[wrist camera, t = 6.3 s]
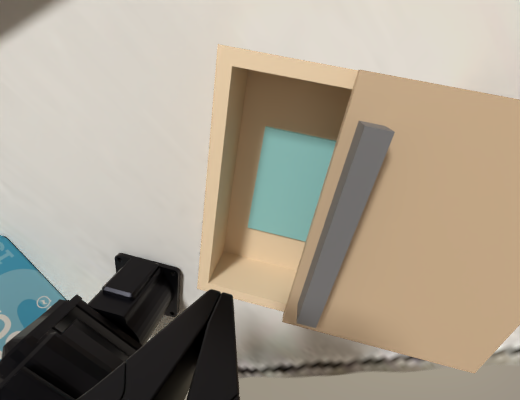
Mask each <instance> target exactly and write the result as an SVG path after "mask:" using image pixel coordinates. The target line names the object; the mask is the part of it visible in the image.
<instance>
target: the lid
mask: <svg viewBox="0 0 520 400" xmlns="http://www.w3.org/2000/svg"><path fill="white" fill-rule="evenodd" d="M282 322H285V323H288V324H292V325H296V326H299V327H303V328H307V329H311V330H314V331H318V332H322V333H326V334H329V335H333V336H337V337H340V338H344V339H348V340H352V341H355V342H359V343H363V344H367V345H370V346H374V347H378V348H381V349H385V350H389V351H393V352H396V353H400V354H404V355H408V356H411V357H415V358H419V359H422V360H426V361H430V362H434V363H437V364H441V365H445V366H449V367H452V368H456V369H460V370H464V371H467V372H471V373H475V372H476V371H477V370H478V369H479V368H480V367H481V366H482V365H483V364H484V363H485V362H486V361H487V359H488V358H489V357H490V356H491V355H492V354H493V353H494V352H495V351H496V350H497V349H498V348H499V347H500V345H501V344H502V343H503V342H504V341H505V340H506V339H507V338H508V337H509V336H510V335H511V334H512V332H513V331H514V330H515V329H516V328H517V327H518V326H519V325H520V100H519V99H513V98H508V97H503V96H497V95H492V94H487V93H481V92H476V91H471V90H465V89H460V88H455V87H449V86H444V85H439V84H433V83H428V82H423V81H417V80H412V79H407V78H401V77H396V76H391V75H385V74H380V73H375V72H369V71H364V70H358V73H357V76H356V79H355V82H354V86H353V89H352V92H351V95H350V99H349V102H348V105H347V108H346V112H345V115H344V118H343V122H342V125H341V128H340V131H339V135H338V138H337V141H336V144H335V148H334V151H333V154H332V157H331V161H330V164H329V167H328V170H327V174H326V177H325V180H324V183H323V187H322V190H321V193H320V196H319V200H318V203H317V206H316V209H315V213H314V216H313V219H312V223H311V226H310V229H309V232H308V236H307V239H306V242H305V245H304V249H303V252H302V255H301V258H300V262H299V265H298V268H297V271H296V275H295V278H294V281H293V284H292V288H291V291H290V294H289V297H288V301H287V304H286V307H285V310H284V314H283V321H282Z"/></svg>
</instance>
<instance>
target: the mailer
mask: <svg viewBox="0 0 520 400" xmlns="http://www.w3.org/2000/svg"><path fill="white" fill-rule="evenodd" d="M357 73H358V71H357V70H352V69H347V68H341V67H336V66H331V65H325V64H320V63H315V62H310V61H304V60H299V59H294V58H288V57H283V56H278V55H272V54H267V53H262V52H256V51H251V50H246V49H240V48H235V47H230V46H224V45H219V44H218V49H217V60H216V72H215V84H214V96H213V108H212V119H211V131H210V143H209V155H208V167H207V179H206V190H205V202H204V214H203V226H202V238H201V249H200V261H199V273H198V285H197V289H200V290H204V291H208V290H210V289H213V290H217V291H220V292H221V293H222V292H225V293H228V294H232V295H233V298H234V299H238V300H242V301H245V302H249V303H253V304H257V305H261V306H264V307H268V308H272V309H276V310H279V311H283V312H284V310H285V307H286V304H287V301H288V297H289V294H290V291H291V288H292V284H293V281H294V278H295V275H296V271H297V268H298V265H299V262H300V258H301V255H302V252H303V249H304V245H305V242H306V239H307V236H308V232H309V229H310V226H311V223H312V219H313V216H314V213H315V209H316V206H317V203H318V200H319V196H320V193H321V190H322V187H323V183H324V180H325V177H326V174H327V170H328V167H329V164H330V161H331V157H332V154H333V151H334V148H335V144H336V141H337V138H338V135H339V131H340V128H341V125H342V122H343V118H344V115H345V112H346V108H347V105H348V102H349V99H350V95H351V92H352V89H353V86H354V82H355V79H356V76H357Z"/></svg>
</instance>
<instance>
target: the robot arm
mask: <svg viewBox="0 0 520 400" xmlns="http://www.w3.org/2000/svg"><path fill="white" fill-rule="evenodd" d="M115 265H116V274H115V275H114V276H113V277H112V278H111V279H110V280H109V281H108V282H107V283H106V284H105V285H104V286H103V287H102V290H101V291H100V292H99V293H98V294H97V295H96V296H95V297H94V298H93V299H92V300H91V301H90V302H89V303H88V304H87V303H86V302H84V301H83V300H81V299H82V298H81V297H80V296H78V295H76V296H74V297H73V298H72V299H71V300H70V301H69V300H61V299H59V300H58V301H57V302H56V303H55V304H54V305H52V306H51V307H50V308H49V309H48V310H47V311H46V312H45V313H43V314H42V315H41V316H40V317H39V318H37V319H36V320H35V321H34V322H32V323H31V324H30V325H28V326H27V327H26V328H25V329H23V330H22V331H21V332H20V333H18V334H17V335H16V336H14V337H13V338H12V339H11V340H10V341H8V342H7V343H6V344H5V345H4V346H3V350H2V358H1V360H0V400H184V399H185V397H186V394H187V392H188V390H189V392H188V396H187V400H240V397H239V382H238V366H237V351H236V335H235V320H234V305H233V295H232V294H228V293H225V292H222V293H221V292H220V291H217V290H213V289H210V290H208V291H207V292H206V293H205V294H203V295H202V296H201V297H200V298H199V299H198V300H196V301H195V302H194V303H193V304H192V305H190V306H189V307H188V308H187V309H186V310H185V311H183V312H182V313H181V314H180V315H179V316H177V314H178V311H179V287H180V270H179V269H178V268H176V267H173V266H169V265H165V264H161V263H158V262H154V261H150V260H146V259H142V258H138V257H135V256H131V255H127V254H123V253H119V254H118V255H116V256H115ZM174 272H175V273H174ZM163 315H168V316H172V317H175V316H177V317H176V318H175V319H174V320H173V321H172V322H170V323H169V324H168V325H167V326H166V327H164V328H163V329H162V330H161V331H160V332H159V333H157V334H156V335H155V336H154V337H153V338H152V339H150V340H149V341H148V339H149V338H150V336H151V334H152V333H153V331H154V330H155V328H156V326H157V325H158V323H159V321H160V320H161V318H162V317H163ZM147 341H148V342H147ZM189 388H190V389H189Z"/></svg>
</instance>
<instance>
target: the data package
mask: <svg viewBox="0 0 520 400" xmlns="http://www.w3.org/2000/svg"><path fill="white" fill-rule="evenodd" d="M59 299H61V300H65V298H64V297H63V296H62V295H61V294H60V293H59V292H58V291H57V290H56V289H55V288H54V287H53V286H52V285H51V284H50V283H49V282H48V281H47V280H46V278H45V277H44V276H43V275H42V274H41V273H40V272H39V271H38V270H37V269H36V268H35V267H34V266H33V265H32V264H31V263H30V262H29V261H28V260H27V259H26V257H25V256H24V255H23V254H22V253H21V252H20V251H19V250H18V249H17V248H16V247H15V246H14V245H13V244H12V243H11V242H10V241H9V240H8V239H7V238H5V237H3V236H1V235H0V360H1V358H2V350H3V346H4V345H5V344H6V343H7V342H8V341H10V340H11V339H12V338H13V337H14V336H16V335H17V334H18V333H20V332H21V331H22V330H23V329H25V328H26V327H27V326H28V325H30V324H31V323H32V322H34V321H35V320H36V319H37V318H39V317H40V316H41V315H42V314H43V313H45V312H46V311H47V310H48V309H49V308H50V307H51V306H52V305H54V304H55V303H56V302H57V301H58V300H59Z"/></svg>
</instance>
